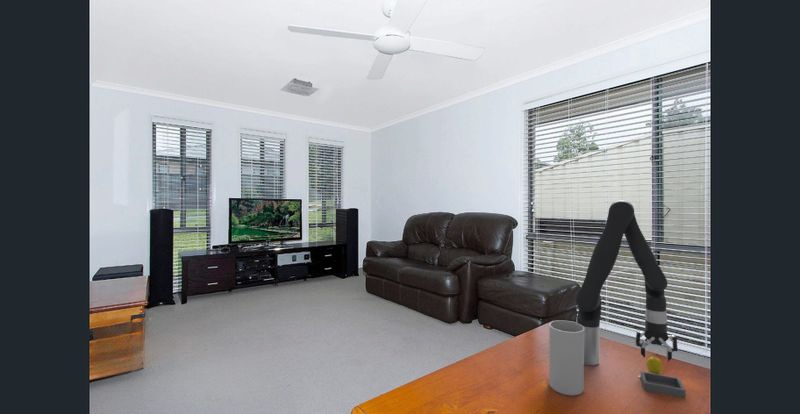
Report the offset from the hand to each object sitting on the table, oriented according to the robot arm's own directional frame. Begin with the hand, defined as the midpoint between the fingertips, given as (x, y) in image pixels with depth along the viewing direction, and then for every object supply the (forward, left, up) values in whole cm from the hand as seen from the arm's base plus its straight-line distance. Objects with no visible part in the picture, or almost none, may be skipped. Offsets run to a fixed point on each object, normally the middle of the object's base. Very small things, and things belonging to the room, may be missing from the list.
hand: (656, 358), depth 155 cm
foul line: (+1, -4, -8) cm, 9 cm away
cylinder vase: (-33, -25, -8) cm, 43 cm away
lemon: (0, 0, -8) cm, 8 cm away
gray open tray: (+1, -10, -8) cm, 12 cm away
